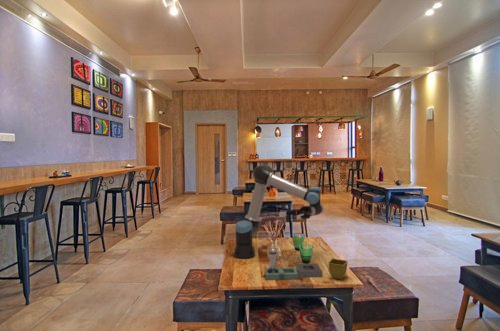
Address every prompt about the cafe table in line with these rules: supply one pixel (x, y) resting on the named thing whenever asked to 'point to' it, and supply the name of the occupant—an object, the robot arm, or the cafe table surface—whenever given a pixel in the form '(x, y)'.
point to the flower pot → (337, 268)
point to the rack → (281, 274)
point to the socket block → (308, 270)
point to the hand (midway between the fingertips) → (288, 216)
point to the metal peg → (272, 260)
